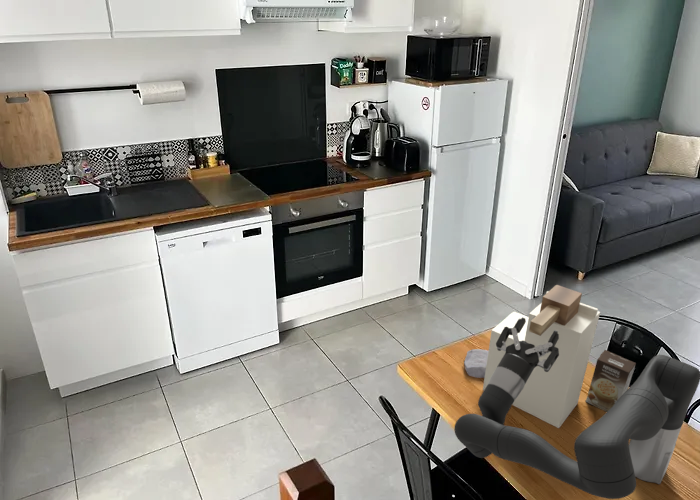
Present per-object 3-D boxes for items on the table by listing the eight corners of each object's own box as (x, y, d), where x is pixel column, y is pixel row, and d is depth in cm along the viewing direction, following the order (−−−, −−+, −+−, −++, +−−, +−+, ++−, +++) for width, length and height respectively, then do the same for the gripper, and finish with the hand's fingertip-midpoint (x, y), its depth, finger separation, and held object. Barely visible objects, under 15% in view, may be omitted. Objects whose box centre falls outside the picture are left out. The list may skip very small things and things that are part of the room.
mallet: (577, 312, 147) (582, 293, 144) (547, 344, 133) (551, 323, 131) (552, 303, 151) (556, 284, 149) (520, 333, 138) (524, 313, 135)
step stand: (577, 403, 161) (602, 304, 146) (558, 428, 152) (583, 325, 137) (504, 368, 175) (519, 275, 161) (482, 390, 166) (497, 293, 151)
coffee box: (584, 402, 162) (595, 358, 155) (592, 391, 166) (603, 348, 159) (616, 417, 156) (629, 372, 149) (623, 406, 160) (636, 362, 153)
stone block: (465, 381, 173) (497, 380, 170) (463, 368, 171) (496, 367, 169) (465, 360, 183) (495, 358, 181) (464, 348, 182) (494, 346, 179)
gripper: (536, 383, 123) (567, 328, 129) (481, 357, 132) (512, 307, 138) (538, 397, 129) (568, 344, 135) (485, 372, 137) (515, 322, 143)
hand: (539, 325), depth 136 cm, fingers open, 8 cm apart
